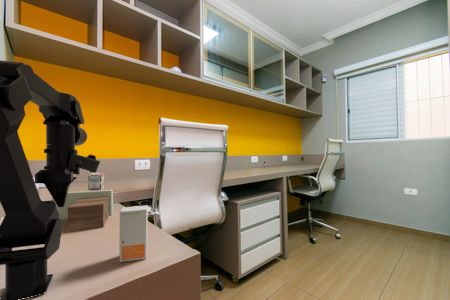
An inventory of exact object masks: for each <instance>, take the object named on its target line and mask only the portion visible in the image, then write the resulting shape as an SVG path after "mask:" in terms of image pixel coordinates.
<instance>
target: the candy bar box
mask: <svg viewBox="0 0 450 300" xmlns="http://www.w3.org/2000/svg"><path fill="white" fill-rule="evenodd" d="M87 179H88V180H87V181H88V182H87V184H88V186H87V187H88V189H87V191H94V190H105V172H96V173H93V172H91V173H89V175H88V178H87Z"/></svg>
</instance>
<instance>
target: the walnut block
mask: <svg viewBox="0 0 450 300" xmlns="http://www.w3.org/2000/svg"><path fill="white" fill-rule="evenodd" d="M108 218H109V196H108V197H95V198H83V199H78V200H77V201H76V202H75V203H73V204H72V205H71V206H69V207H68V219H67V232H68V233H71V232H77V231H80V232H81V231H84V230H86V231H87V230H95V229H103V228H104V227H105V225H106V223H107V221H108Z"/></svg>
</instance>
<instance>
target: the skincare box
mask: <svg viewBox="0 0 450 300" xmlns="http://www.w3.org/2000/svg"><path fill="white" fill-rule="evenodd" d="M148 212H149V206H148V205H135V206H134V205H133V206H124V207H122V208H121V209H120V211H119V263H123V262H124V263H125V262H132V261H139V260H146V259H147V255H148V251H149V250H148V247H149V245H148V243H149V242H148V240H149V239H148V238H149V237H148V234H149V233H148V230H149V229H148V226H149V225H148V224H149V223H148V219H149V217H148V216H149V215H148V214H149V213H148ZM145 258H146V259H145Z"/></svg>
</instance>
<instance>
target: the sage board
mask: <svg viewBox="0 0 450 300" xmlns="http://www.w3.org/2000/svg"><path fill="white" fill-rule="evenodd" d="M108 196H109V216H110V217H111V216H113V215H114V189H104V190H94V191H88V190H80V191H79V190H78V191H68V193H67V197H66V201H65V205H64V207H58V206H57V204H56V208H57V211H58V213H59V218H60V219H61V221H65V220H68V207H69V206H71V205H72V204H73V203H75V202H76V201H77V200H78V199H83V198H95V197H108ZM52 200H53V201H54V199H53V197H52V196H51V201H52ZM54 202H55V201H54ZM55 203H56V202H55Z"/></svg>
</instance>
